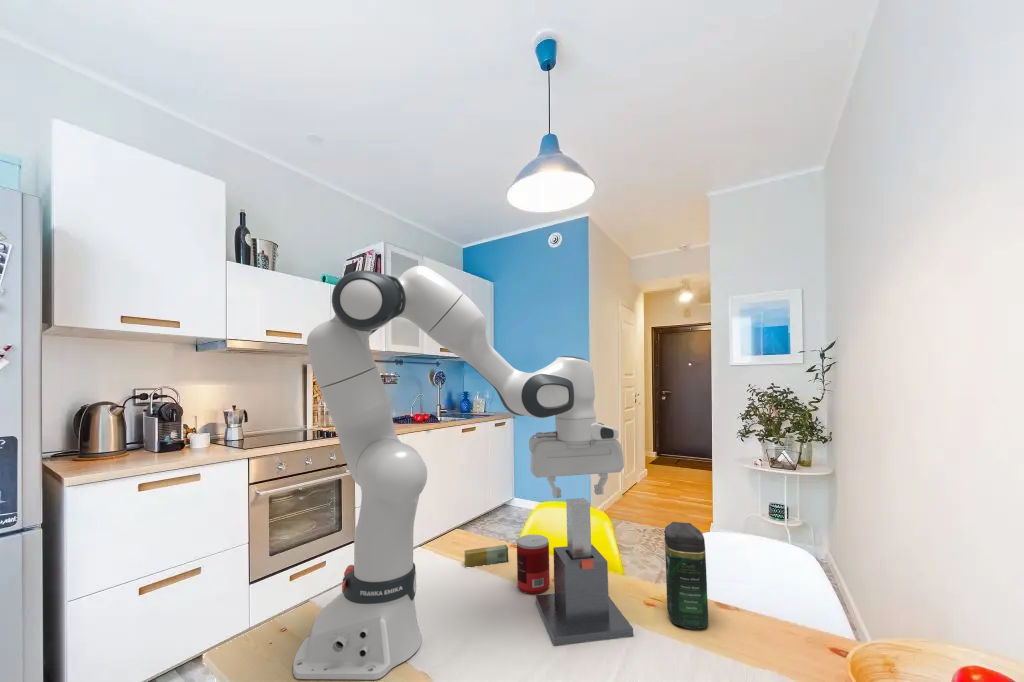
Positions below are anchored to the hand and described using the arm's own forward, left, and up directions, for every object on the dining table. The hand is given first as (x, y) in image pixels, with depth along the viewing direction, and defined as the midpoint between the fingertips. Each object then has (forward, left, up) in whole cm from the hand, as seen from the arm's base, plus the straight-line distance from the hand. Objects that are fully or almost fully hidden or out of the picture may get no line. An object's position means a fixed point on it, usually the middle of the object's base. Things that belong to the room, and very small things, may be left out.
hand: (578, 495), depth 92 cm
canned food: (-7, +15, -25) cm, 30 cm away
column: (0, 0, -23) cm, 23 cm away
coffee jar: (+22, -4, -25) cm, 34 cm away
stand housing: (0, 0, -25) cm, 25 cm away
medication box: (-17, +30, -26) cm, 43 cm away
